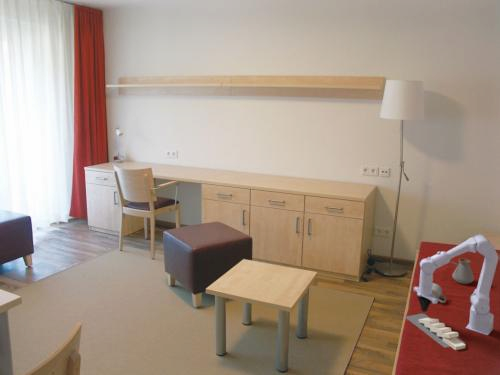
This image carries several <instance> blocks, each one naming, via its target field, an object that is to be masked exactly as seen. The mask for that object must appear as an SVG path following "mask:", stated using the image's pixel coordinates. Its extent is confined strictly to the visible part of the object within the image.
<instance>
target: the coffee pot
mask: <svg viewBox="0 0 500 375" xmlns="http://www.w3.org/2000/svg"><path fill="white" fill-rule="evenodd" d="M471 262H472V261H471V260H470V259H467V258H458V263H456V262H454V261H452V260H450V262H449V263H452V264H453V265H456V268H455V270H454V271H453V273H452V278H453V280H454V281H455V282H456V283H457V284H460V285H469V284H471V283H473V282H474V280H475V276H474V273H473V271H472V268H471V265H470V263H471Z"/></svg>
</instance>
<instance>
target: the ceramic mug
mask: <svg viewBox="0 0 500 375" xmlns="http://www.w3.org/2000/svg"><path fill="white" fill-rule="evenodd" d="M432 294H433V295H434V296H435V298H436V299H438V302H439V303H441V304H444V303H446V301H447V298H446V296H445V295H444V294H443V290H442V287H441V286H440V285H439V284H437V283H435V282H433V286H432ZM441 298H442V299H443V300H442V299H441Z"/></svg>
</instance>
